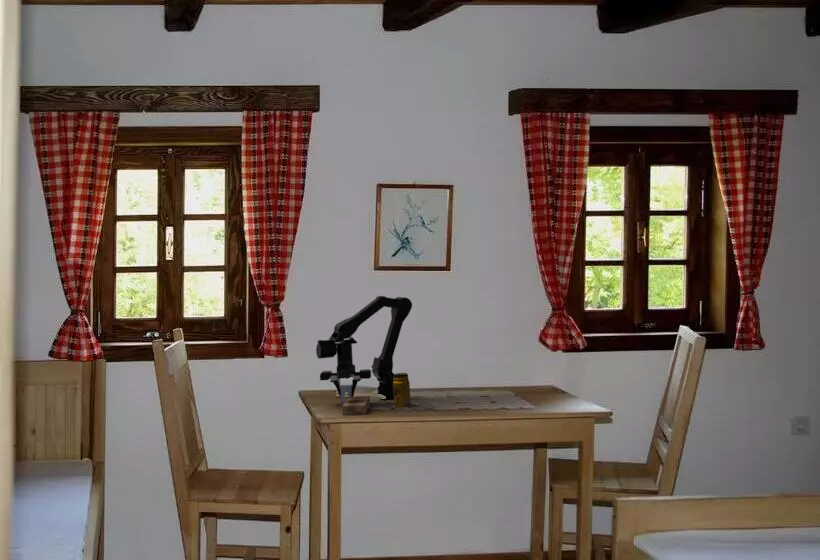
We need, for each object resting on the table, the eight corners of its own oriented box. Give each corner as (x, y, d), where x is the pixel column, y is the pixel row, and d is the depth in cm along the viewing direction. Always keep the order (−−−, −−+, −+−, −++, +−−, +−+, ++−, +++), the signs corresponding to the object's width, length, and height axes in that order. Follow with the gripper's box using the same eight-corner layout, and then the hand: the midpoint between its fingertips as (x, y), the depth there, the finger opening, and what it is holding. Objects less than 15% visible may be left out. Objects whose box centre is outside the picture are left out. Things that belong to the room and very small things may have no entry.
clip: (352, 402, 394) (352, 384, 394) (351, 403, 390) (350, 386, 390) (342, 402, 394) (341, 385, 394) (341, 404, 391) (340, 386, 390)
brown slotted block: (370, 404, 388) (369, 396, 388) (365, 413, 368) (364, 405, 368) (348, 404, 388) (348, 396, 388) (342, 414, 368) (342, 406, 368)
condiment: (388, 407, 380) (387, 374, 379) (404, 403, 386) (402, 371, 385) (404, 408, 375) (402, 375, 374) (419, 405, 381) (417, 372, 381)
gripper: (316, 360, 384) (319, 402, 385) (367, 358, 383) (369, 400, 384) (320, 356, 395) (323, 397, 396) (370, 354, 394) (372, 395, 395)
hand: (346, 397), depth 392 cm, fingers closed on clip, 4 cm apart
